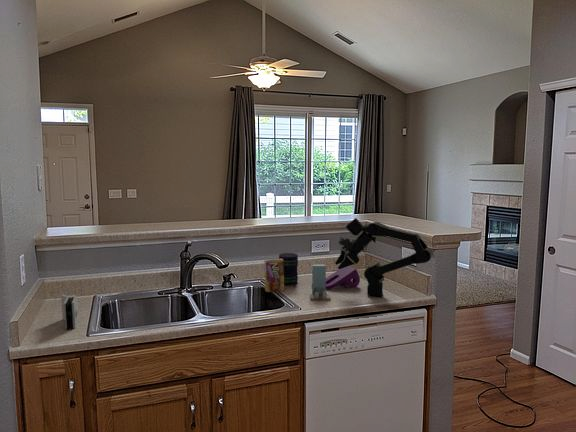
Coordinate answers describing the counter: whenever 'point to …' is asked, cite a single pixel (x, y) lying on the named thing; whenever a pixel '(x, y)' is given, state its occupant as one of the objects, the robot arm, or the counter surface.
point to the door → (318, 277)
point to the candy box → (274, 275)
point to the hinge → (70, 311)
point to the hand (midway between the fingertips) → (337, 266)
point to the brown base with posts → (320, 295)
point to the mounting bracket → (343, 278)
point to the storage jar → (290, 268)
